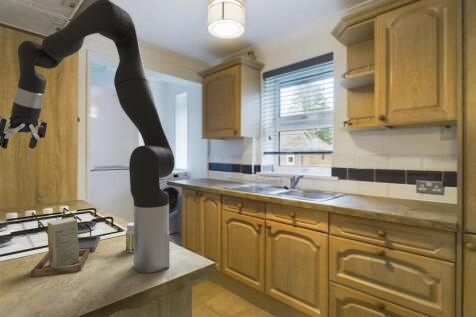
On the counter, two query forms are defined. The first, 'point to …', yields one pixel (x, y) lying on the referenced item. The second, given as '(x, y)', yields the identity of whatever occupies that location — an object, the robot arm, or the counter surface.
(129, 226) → the supplement bottle
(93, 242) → the charcoal seat plate
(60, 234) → the skincare box
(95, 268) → the counter surface
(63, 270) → the frame
